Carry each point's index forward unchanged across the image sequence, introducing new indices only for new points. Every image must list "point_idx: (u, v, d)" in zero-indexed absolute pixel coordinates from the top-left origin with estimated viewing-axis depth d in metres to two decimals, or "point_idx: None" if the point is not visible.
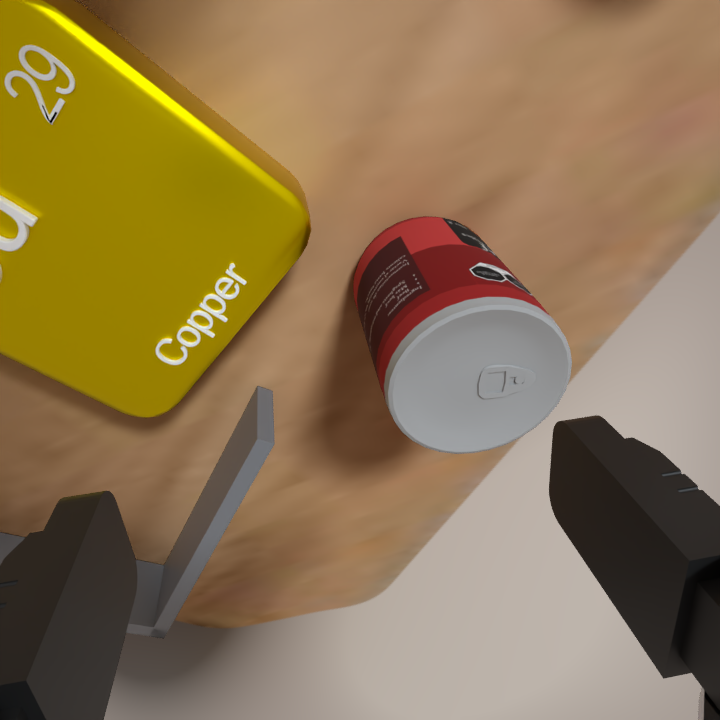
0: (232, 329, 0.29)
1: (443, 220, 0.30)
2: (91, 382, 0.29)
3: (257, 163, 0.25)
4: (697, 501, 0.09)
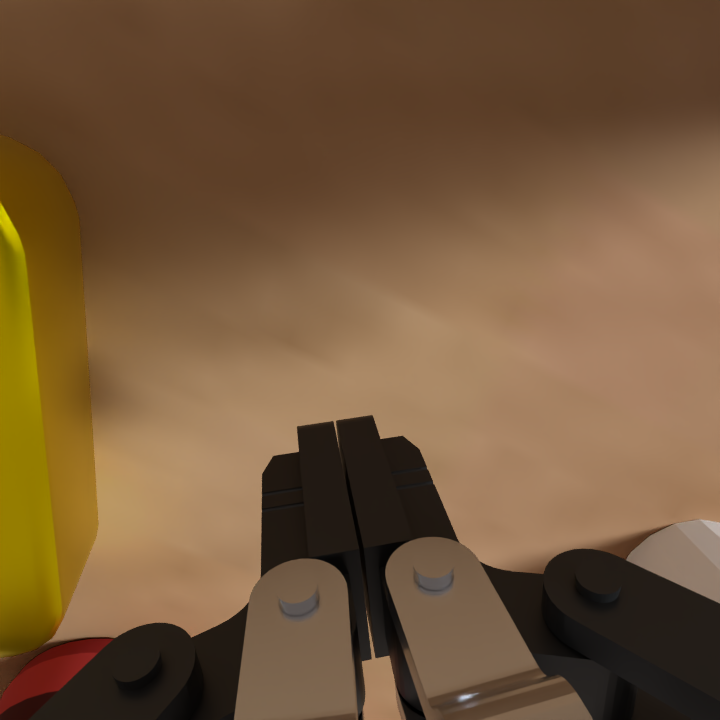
0: None
1: None
2: None
3: (61, 553, 0.17)
4: (424, 495, 0.09)
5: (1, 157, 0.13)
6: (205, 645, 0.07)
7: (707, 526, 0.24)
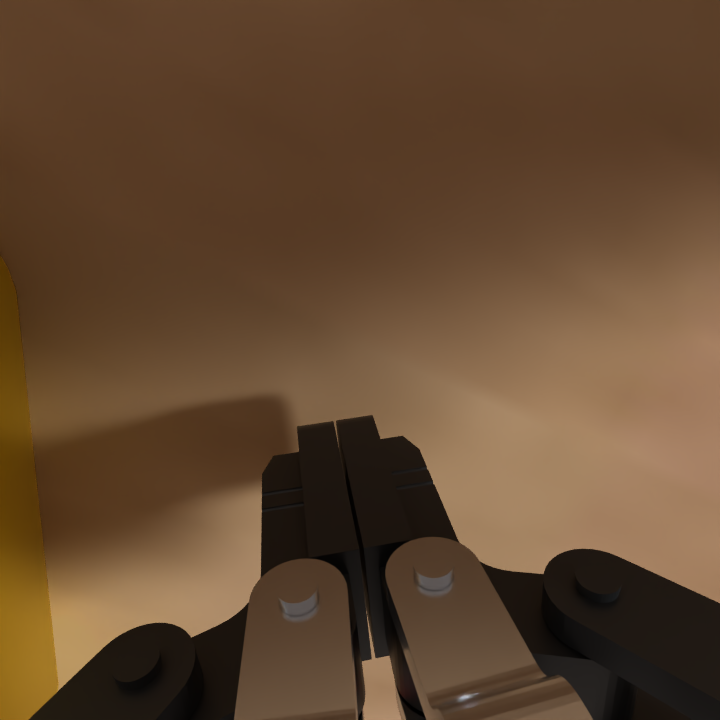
0: None
1: None
2: None
3: None
4: (424, 495, 0.09)
5: None
6: (204, 646, 0.07)
7: None
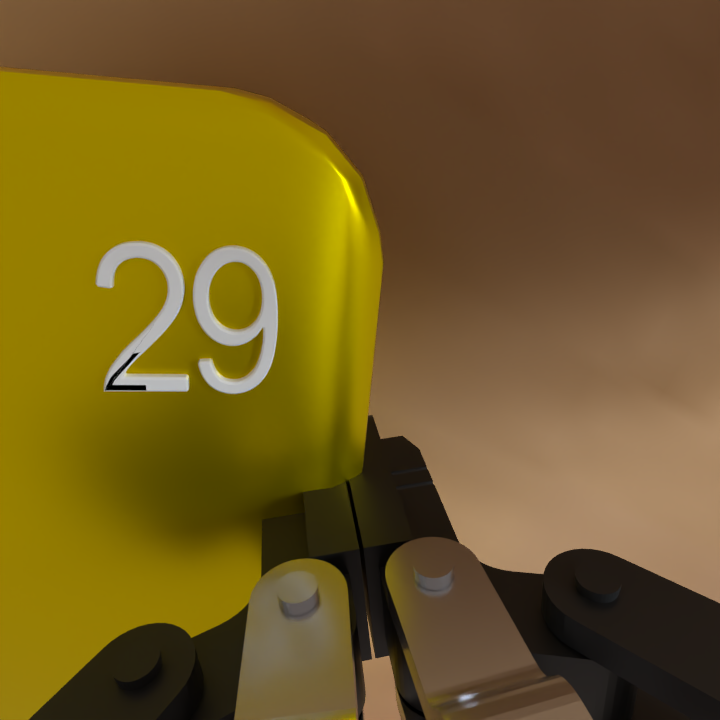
0: None
1: None
2: None
3: None
4: (424, 495, 0.09)
5: None
6: (205, 646, 0.07)
7: None
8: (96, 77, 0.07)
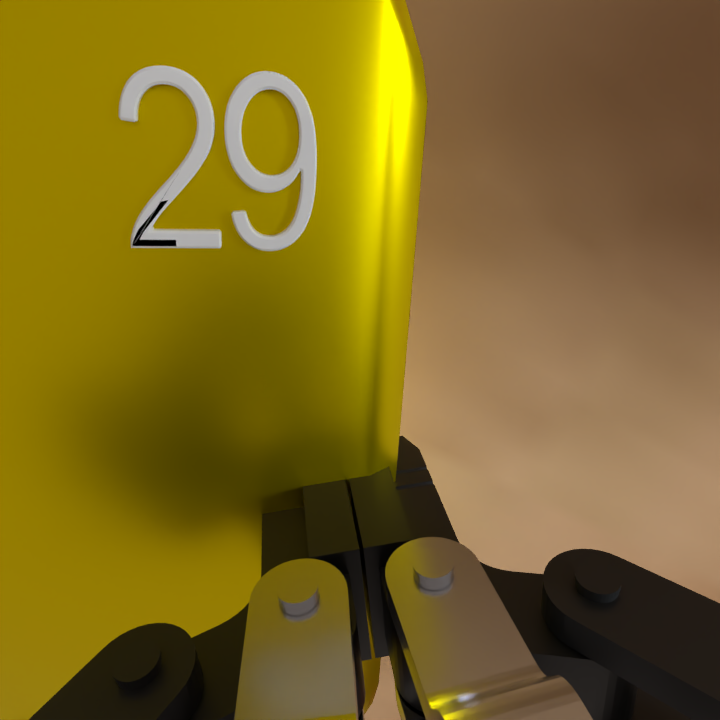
0: None
1: None
2: None
3: None
4: (424, 495, 0.09)
5: None
6: (205, 646, 0.07)
7: None
8: None
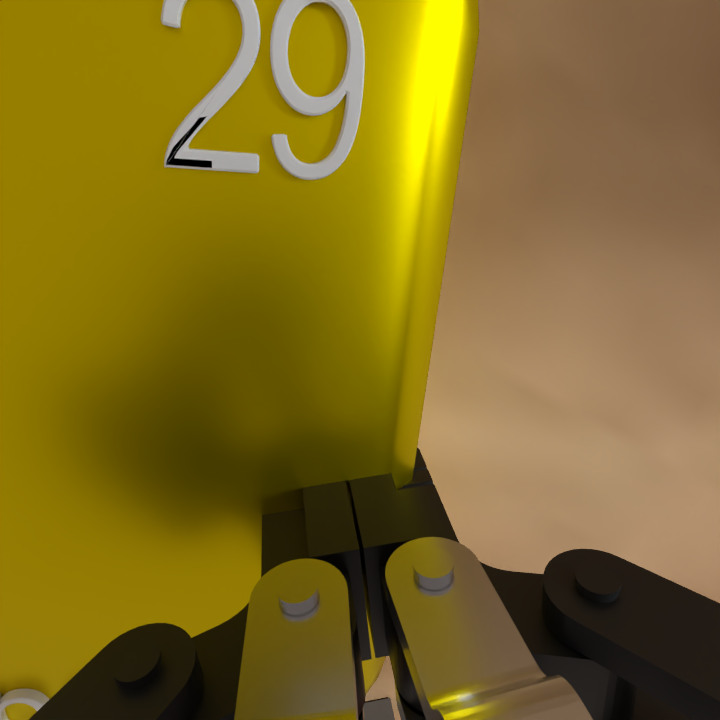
0: None
1: None
2: None
3: None
4: (424, 495, 0.09)
5: None
6: (204, 645, 0.07)
7: None
8: None
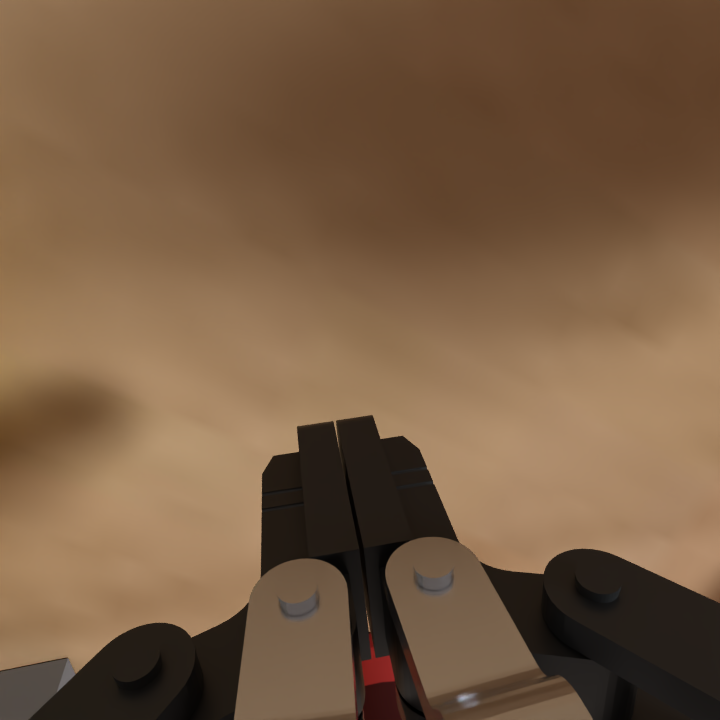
0: None
1: None
2: None
3: None
4: (424, 495, 0.09)
5: None
6: (204, 646, 0.07)
7: None
8: None
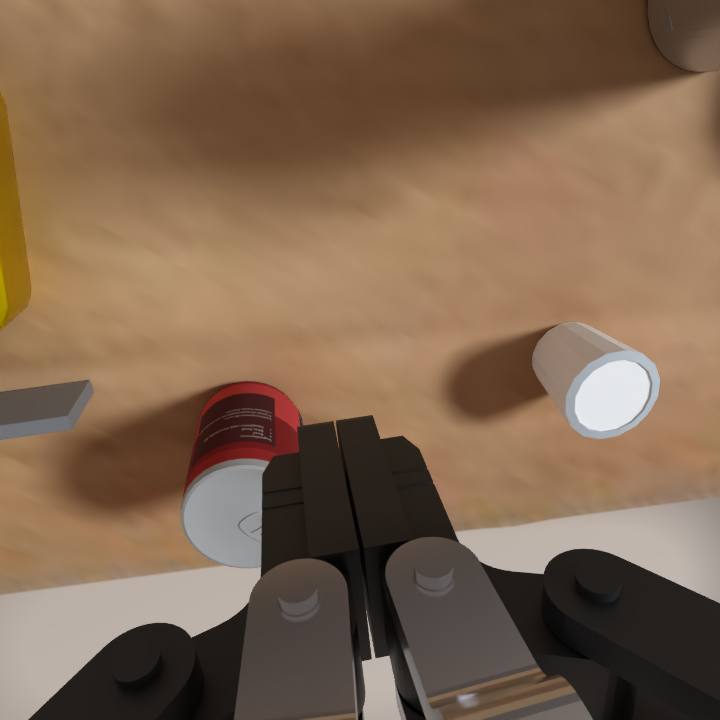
0: None
1: (298, 412, 0.43)
2: None
3: (5, 273, 0.34)
4: (424, 495, 0.09)
5: None
6: (204, 645, 0.07)
7: (577, 323, 0.44)
8: None
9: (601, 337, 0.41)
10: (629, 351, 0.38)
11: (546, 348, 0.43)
